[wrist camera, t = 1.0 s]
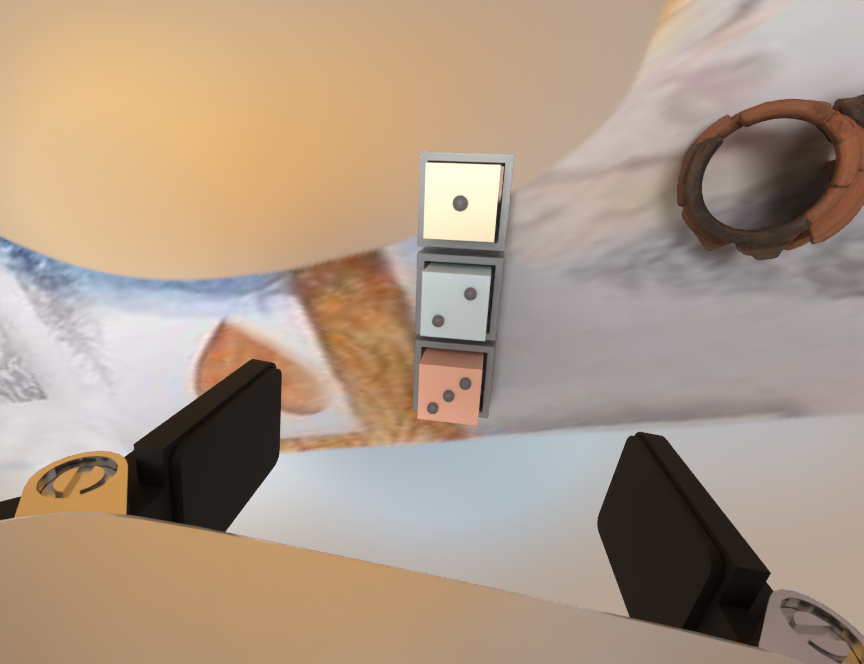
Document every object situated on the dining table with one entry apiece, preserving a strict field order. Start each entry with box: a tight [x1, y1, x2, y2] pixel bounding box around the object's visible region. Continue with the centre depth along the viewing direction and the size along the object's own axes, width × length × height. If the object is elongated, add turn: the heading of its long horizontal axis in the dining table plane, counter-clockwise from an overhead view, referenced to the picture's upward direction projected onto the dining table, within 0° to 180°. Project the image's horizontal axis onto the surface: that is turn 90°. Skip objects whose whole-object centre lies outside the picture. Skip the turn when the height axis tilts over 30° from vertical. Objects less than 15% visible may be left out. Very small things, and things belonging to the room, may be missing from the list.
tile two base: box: [415, 248, 504, 341], centre depth 30 cm, size 6×6×3 cm
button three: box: [418, 347, 484, 426], centre depth 30 cm, size 4×4×4 cm
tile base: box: [413, 334, 495, 418], centre depth 32 cm, size 6×6×3 cm
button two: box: [420, 262, 491, 341], centre depth 28 cm, size 4×4×4 cm
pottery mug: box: [677, 94, 864, 260], centre depth 23 cm, size 12×10×8 cm
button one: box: [423, 163, 501, 242], centre depth 26 cm, size 4×4×4 cm
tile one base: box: [418, 152, 514, 251], centre depth 28 cm, size 6×6×3 cm
